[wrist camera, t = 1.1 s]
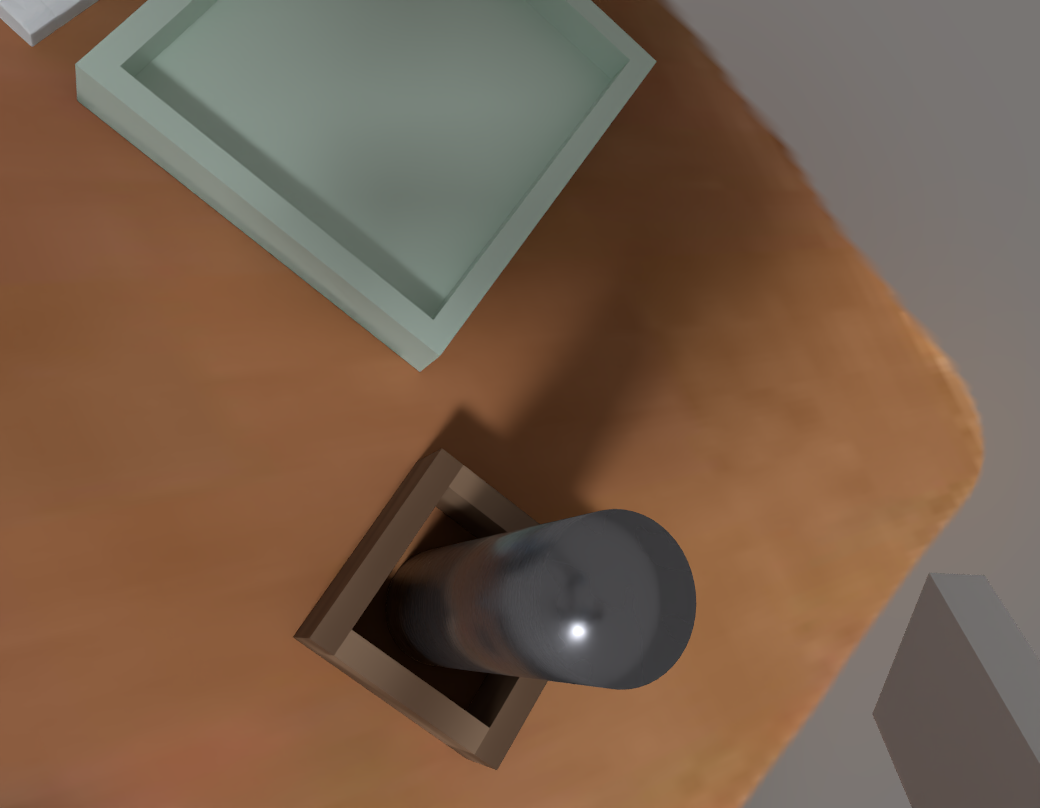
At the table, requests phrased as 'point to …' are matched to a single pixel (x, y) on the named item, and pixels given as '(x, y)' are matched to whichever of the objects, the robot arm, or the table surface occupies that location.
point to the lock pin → (551, 602)
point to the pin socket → (332, 619)
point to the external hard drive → (40, 16)
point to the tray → (371, 134)
